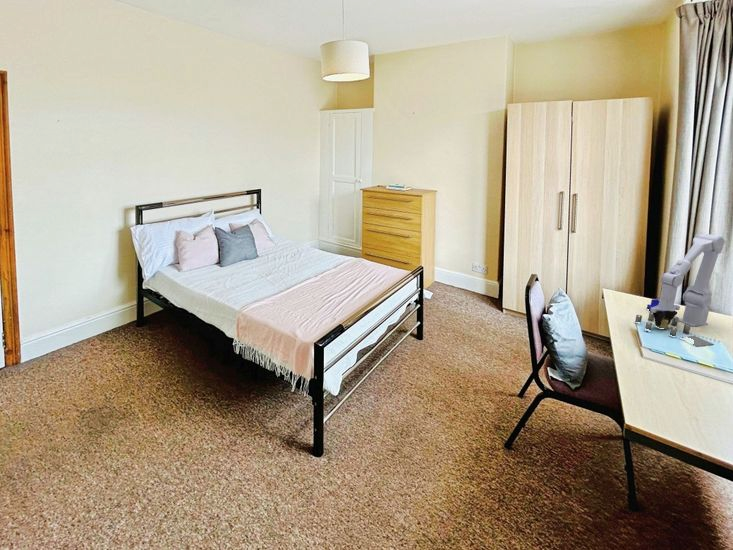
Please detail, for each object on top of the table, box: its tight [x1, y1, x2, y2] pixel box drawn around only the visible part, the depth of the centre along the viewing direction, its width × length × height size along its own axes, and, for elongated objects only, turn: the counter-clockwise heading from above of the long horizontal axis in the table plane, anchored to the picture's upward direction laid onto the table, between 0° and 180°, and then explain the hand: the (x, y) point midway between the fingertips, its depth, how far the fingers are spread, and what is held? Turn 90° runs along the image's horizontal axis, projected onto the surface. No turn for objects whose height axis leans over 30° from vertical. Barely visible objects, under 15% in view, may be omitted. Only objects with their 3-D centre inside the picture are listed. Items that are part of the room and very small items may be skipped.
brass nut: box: [654, 317, 669, 330], centre depth 201 cm, size 4×5×5 cm
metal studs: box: [634, 311, 692, 337], centre depth 201 cm, size 21×20×4 cm
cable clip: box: [646, 298, 664, 313], centre depth 218 cm, size 12×4×6 cm, turn 171°
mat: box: [686, 335, 714, 347], centre depth 188 cm, size 9×9×1 cm
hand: (661, 325), depth 201 cm, fingers closed on brass nut, 4 cm apart
